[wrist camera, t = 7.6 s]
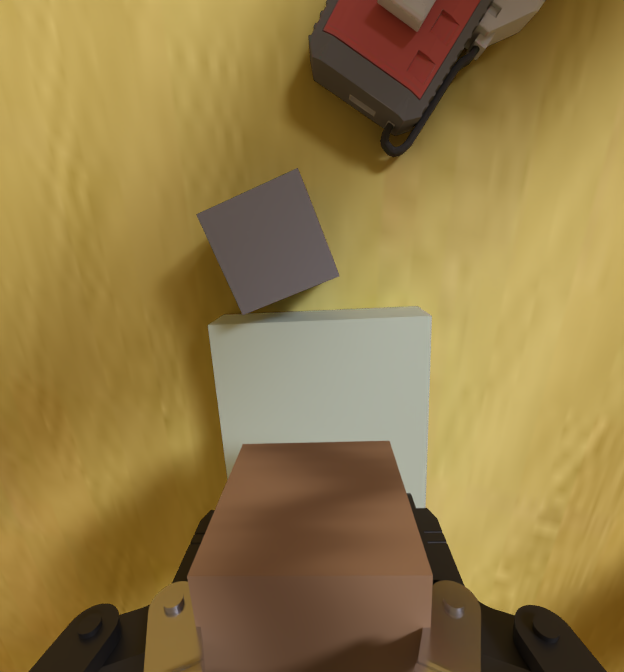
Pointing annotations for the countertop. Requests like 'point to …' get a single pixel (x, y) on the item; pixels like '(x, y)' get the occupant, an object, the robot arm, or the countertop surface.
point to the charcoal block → (269, 242)
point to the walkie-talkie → (405, 53)
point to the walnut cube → (312, 563)
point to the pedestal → (326, 381)
